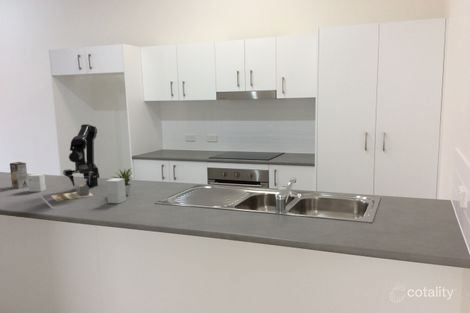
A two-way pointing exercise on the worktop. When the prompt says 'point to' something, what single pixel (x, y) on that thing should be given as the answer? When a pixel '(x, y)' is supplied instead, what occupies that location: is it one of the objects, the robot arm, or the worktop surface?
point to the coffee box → (18, 175)
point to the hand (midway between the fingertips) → (82, 185)
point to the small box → (36, 182)
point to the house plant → (126, 180)
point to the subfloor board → (68, 196)
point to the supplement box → (116, 190)
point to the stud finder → (82, 189)
